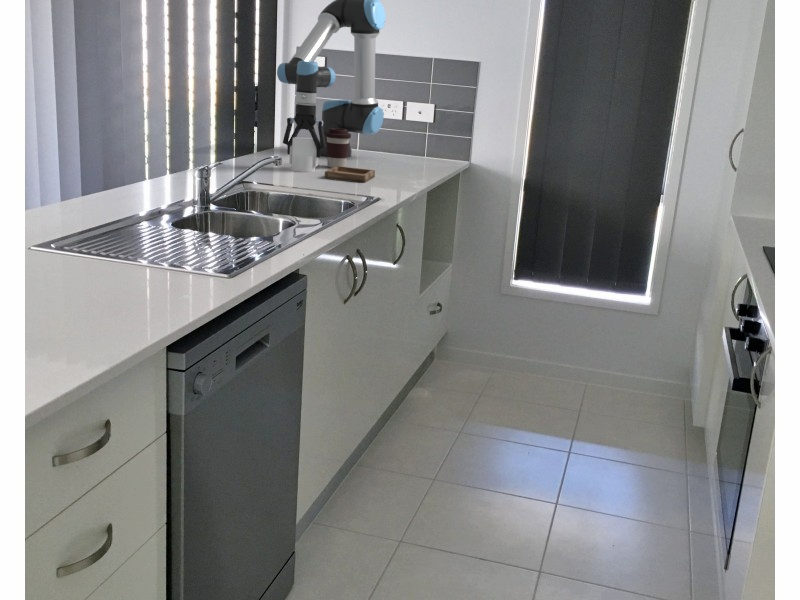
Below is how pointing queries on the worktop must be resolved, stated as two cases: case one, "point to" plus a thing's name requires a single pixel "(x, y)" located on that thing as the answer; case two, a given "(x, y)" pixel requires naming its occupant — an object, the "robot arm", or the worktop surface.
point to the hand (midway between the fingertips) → (303, 164)
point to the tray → (350, 174)
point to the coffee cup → (337, 147)
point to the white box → (303, 154)
